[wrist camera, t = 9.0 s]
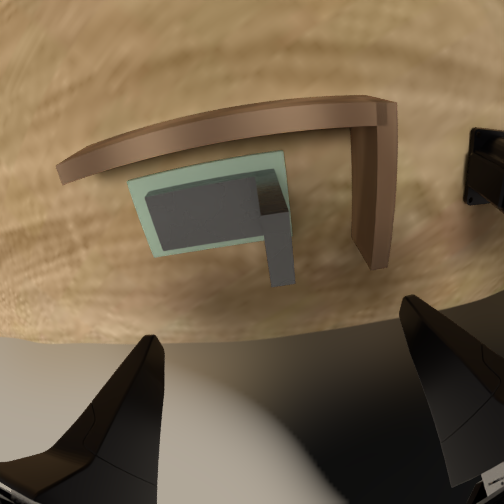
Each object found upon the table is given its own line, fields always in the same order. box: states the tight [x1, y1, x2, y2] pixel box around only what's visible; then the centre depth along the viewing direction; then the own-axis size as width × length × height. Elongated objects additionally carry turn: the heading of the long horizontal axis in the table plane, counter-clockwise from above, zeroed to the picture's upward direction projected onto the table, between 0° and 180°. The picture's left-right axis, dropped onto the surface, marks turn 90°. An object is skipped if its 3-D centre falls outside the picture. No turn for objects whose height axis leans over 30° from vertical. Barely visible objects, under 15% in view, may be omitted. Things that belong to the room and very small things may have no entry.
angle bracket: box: [145, 168, 295, 287], centre depth 16 cm, size 8×4×6 cm, turn 99°
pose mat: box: [127, 150, 292, 258], centre depth 19 cm, size 10×6×1 cm, turn 99°
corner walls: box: [56, 95, 398, 270], centre depth 16 cm, size 18×10×4 cm, turn 99°
